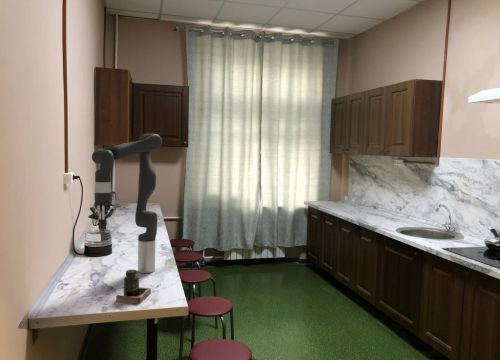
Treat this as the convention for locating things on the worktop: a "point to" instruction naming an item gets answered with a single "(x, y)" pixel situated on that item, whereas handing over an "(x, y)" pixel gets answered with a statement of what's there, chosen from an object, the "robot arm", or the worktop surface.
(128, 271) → the supplement bottle
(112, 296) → the worktop surface
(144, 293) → the walnut frame
